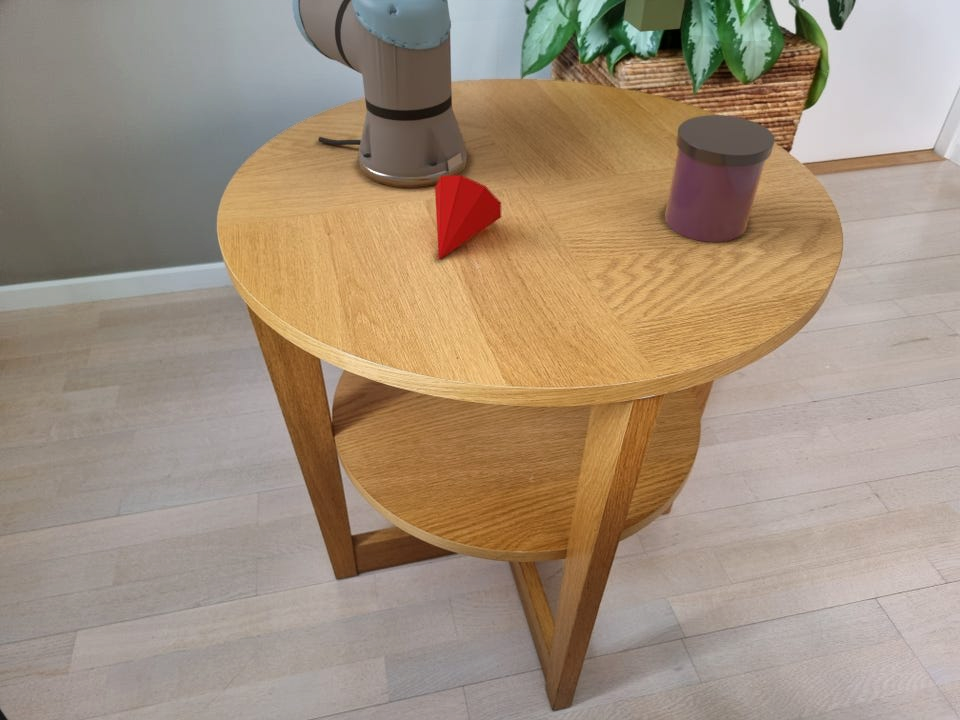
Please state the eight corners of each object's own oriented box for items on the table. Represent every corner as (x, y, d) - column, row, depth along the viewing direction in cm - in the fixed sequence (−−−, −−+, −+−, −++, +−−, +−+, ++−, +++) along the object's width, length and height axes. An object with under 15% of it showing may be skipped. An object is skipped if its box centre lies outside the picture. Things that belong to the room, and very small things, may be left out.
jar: (657, 236, 85) (674, 148, 78) (665, 194, 93) (681, 110, 85) (749, 249, 83) (776, 160, 75) (749, 205, 91) (774, 120, 83)
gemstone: (483, 265, 78) (516, 195, 82) (414, 227, 77) (450, 157, 80) (462, 289, 87) (493, 225, 90) (399, 255, 85) (432, 191, 88)
